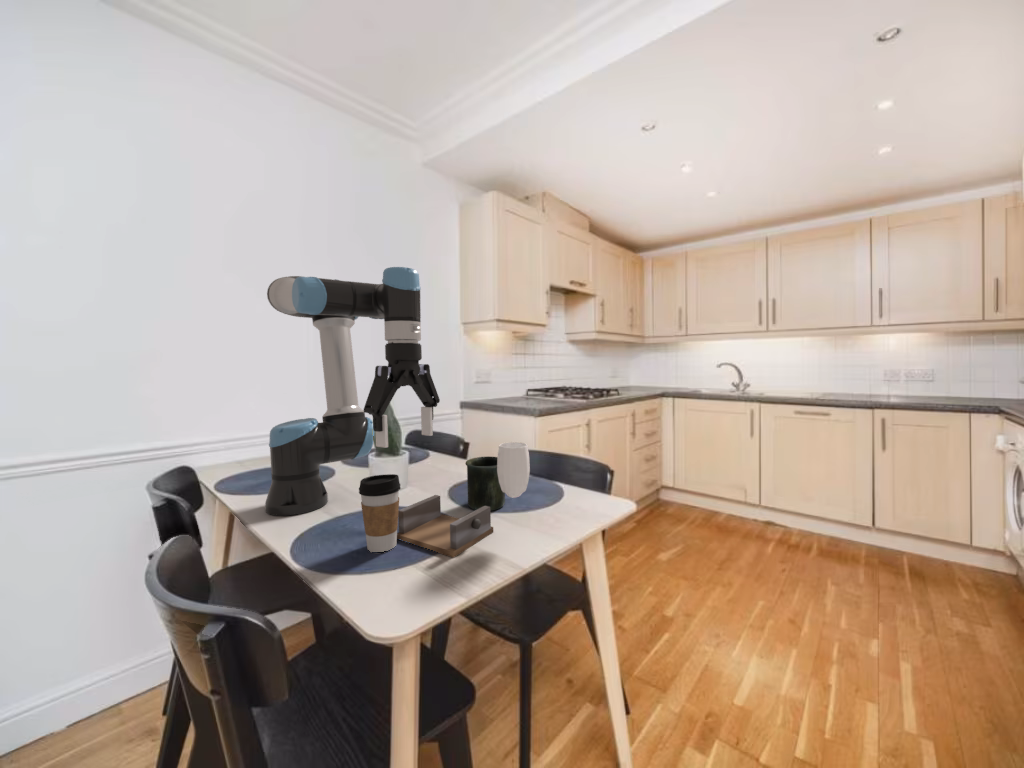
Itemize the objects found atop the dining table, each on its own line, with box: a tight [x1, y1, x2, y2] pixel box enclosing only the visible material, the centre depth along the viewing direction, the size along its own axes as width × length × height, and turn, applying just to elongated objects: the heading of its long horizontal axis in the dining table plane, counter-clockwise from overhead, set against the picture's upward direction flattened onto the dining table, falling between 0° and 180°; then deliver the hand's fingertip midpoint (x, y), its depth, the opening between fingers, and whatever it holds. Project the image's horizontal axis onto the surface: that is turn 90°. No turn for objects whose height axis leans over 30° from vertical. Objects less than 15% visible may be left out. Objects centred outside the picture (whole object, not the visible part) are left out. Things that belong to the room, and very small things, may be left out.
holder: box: [397, 494, 494, 558], centre depth 93 cm, size 19×14×6 cm
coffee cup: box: [358, 473, 402, 553], centre depth 87 cm, size 8×8×15 cm
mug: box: [465, 456, 506, 512], centre depth 113 cm, size 11×15×12 cm
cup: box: [496, 441, 531, 499], centre depth 91 cm, size 7×7×21 cm
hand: (406, 440), depth 90 cm, fingers open, 13 cm apart
